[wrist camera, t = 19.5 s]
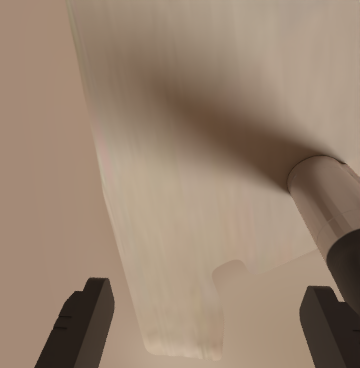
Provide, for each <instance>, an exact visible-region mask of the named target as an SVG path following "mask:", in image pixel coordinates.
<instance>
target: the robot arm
mask: <svg viewBox="0 0 360 368" xmlns="http://www.w3.org/2000/svg"><path fill="white" fill-rule="evenodd" d="M287 186H288V190H289V192H290V194H291V196H292V198H293V200H294V202H295V204H296V206H297V208H298V210H299V212H300V214H301V216H302V218H303V220H304V222H305V224H306V226H307V228H308V229H309V231H310V233H311V235H312V237H313V239H314V241H315V243H316V245H317V247H318V249H319V251H320V253H321V255H322V257H323V259H324V260H325V263H326V265H327V266H328V268H329V270H330V272H331V274H332V276H333V278H334V280H335V282H336V284H337V286H338V289H339V291H340V293H341V295H342V297H343V298H344V301H345V302H339V301H338V300H337V297H336V295H335V293H334V291H333V290H332V288H331V287H329V286H308V287H307V290H306V293H305V295H304V298H303V301H302V303H301V307H300V322H301V325H302V328H303V332H304V335H305V338H306V340H307V344H308V347H309V350H310V353H311V356H312V358H313V362H314V365H315V368H360V177H359V176H358V175H357V174H356V173H355V172H354V171H353V170H352V169H351V168H350V167H349V166H348V165H347V164H341V163H339V162H338V161H337V160H336V159H334V158H331V157H328V156H315V157H311V158H308V159H305V160H304V161H302V162H300V163H299V164H298V165H296V166H295V167H294V168H293V170H292V171H291V173H290V174H289V177H288V180H287ZM113 313H114V297H113V293H112V289H111V285H110V281H109V279H108V278H89V279H88V280H87V282H86V285H85V287H84V289H83V291H75V292H74V293H73V294H72V295H71V296H70V297H69V299H67V301H66V302H65V303H64V305H63V308H62V309H61V312H60V314H59V317H58V319H57V320H56V322H55V324H54V327H53V330H52V331H51V333H50V335H49V338H48V340H47V342H46V344H45V346H44V348H43V350H42V352H41V355H40V357H39V359H38V361H37V363H36V365H35V367H34V368H98V367H99V363H100V360H101V356H102V352H103V349H104V345H105V342H106V338H107V335H108V331H109V328H110V324H111V321H112V317H113Z"/></svg>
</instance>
